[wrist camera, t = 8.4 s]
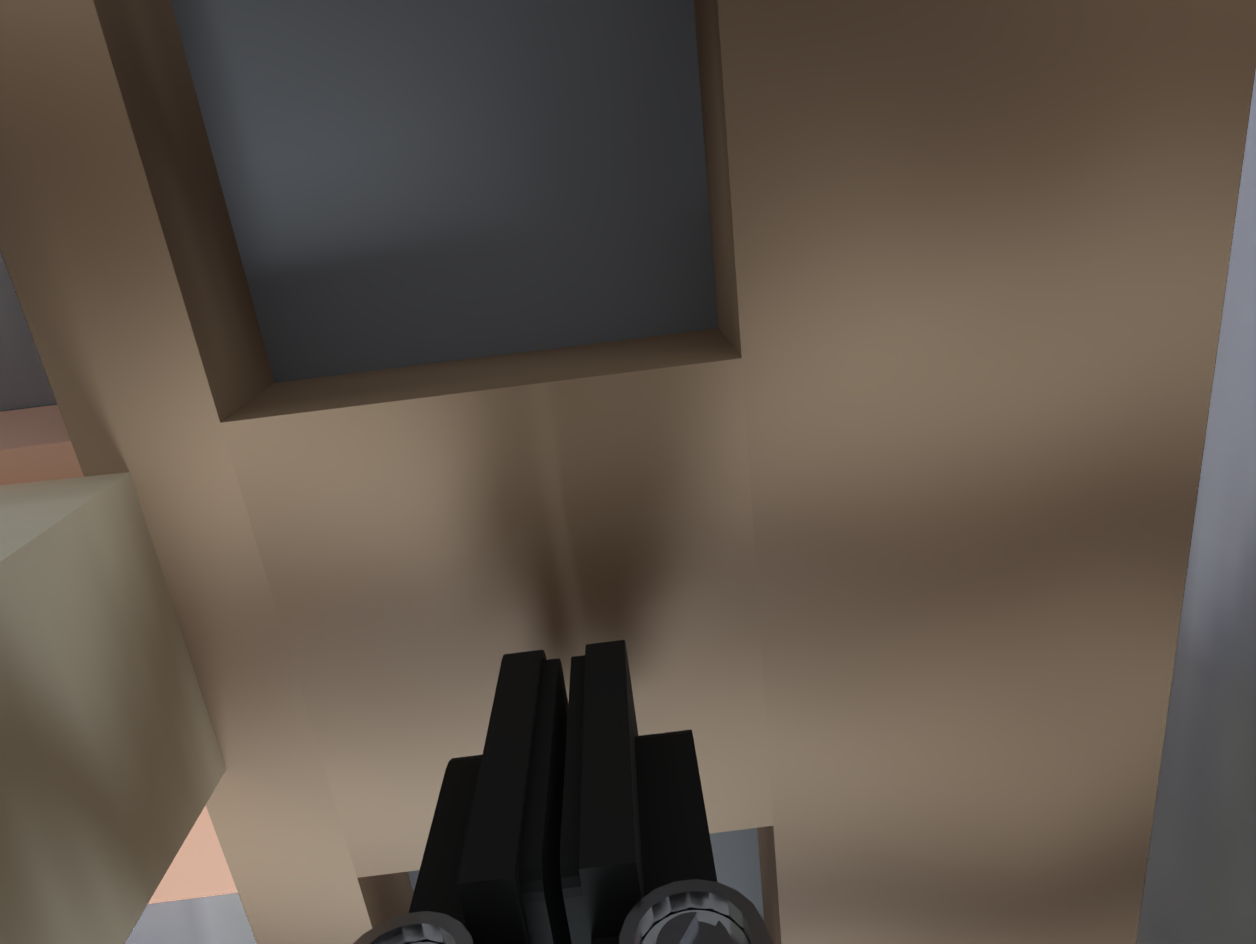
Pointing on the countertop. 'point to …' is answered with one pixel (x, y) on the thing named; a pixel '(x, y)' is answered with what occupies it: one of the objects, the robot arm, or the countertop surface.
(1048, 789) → the trap board
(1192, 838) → the countertop surface
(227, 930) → the countertop surface
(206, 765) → the maple block
